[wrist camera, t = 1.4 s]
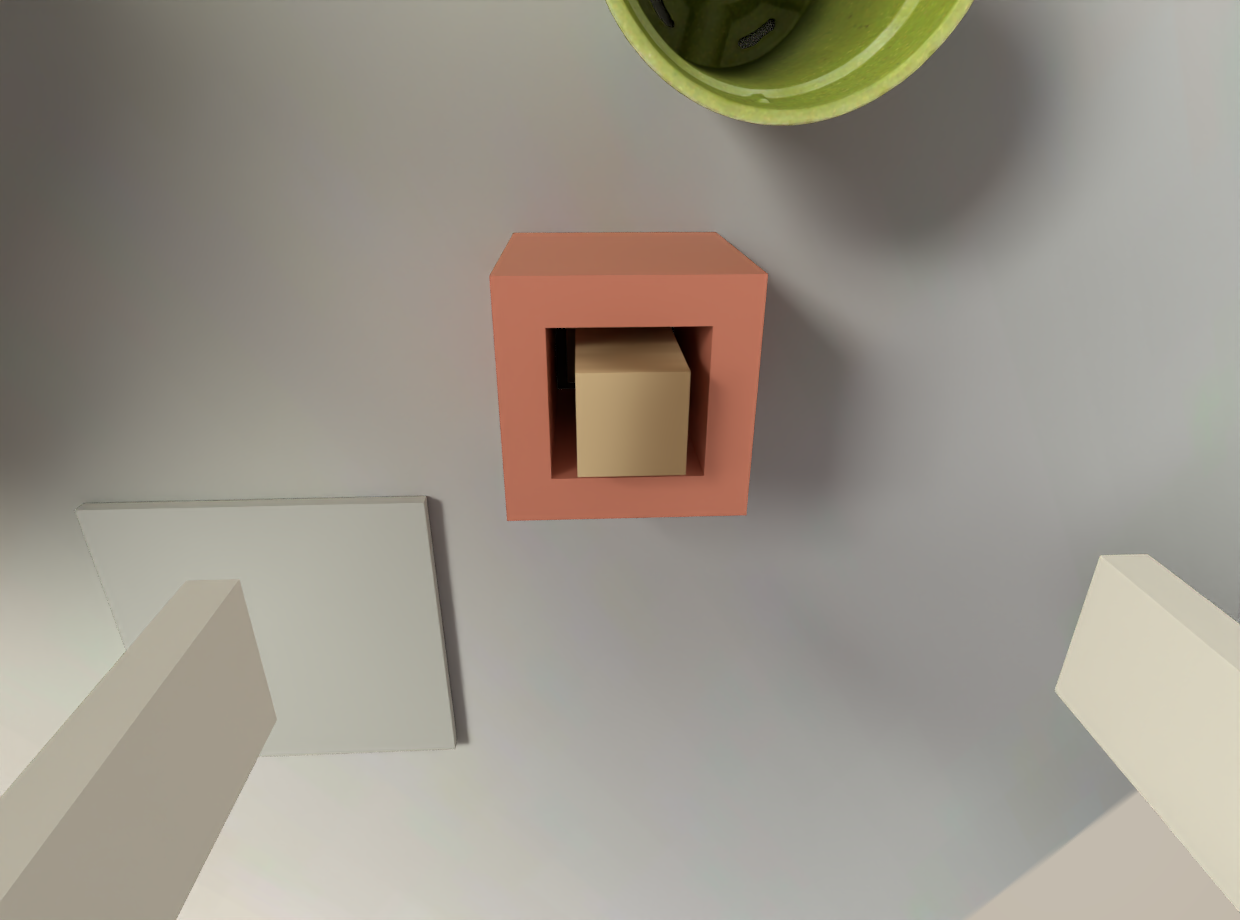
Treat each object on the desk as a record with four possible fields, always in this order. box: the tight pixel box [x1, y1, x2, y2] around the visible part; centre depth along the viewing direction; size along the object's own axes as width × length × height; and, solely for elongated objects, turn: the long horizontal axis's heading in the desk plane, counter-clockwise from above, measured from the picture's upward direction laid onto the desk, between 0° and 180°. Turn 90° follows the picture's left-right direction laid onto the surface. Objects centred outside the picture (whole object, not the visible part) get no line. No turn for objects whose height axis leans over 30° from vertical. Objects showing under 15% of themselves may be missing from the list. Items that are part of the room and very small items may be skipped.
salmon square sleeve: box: [489, 232, 768, 521], centre depth 24 cm, size 7×7×8 cm
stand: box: [566, 327, 691, 477], centre depth 24 cm, size 4×4×10 cm
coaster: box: [74, 496, 457, 757], centre depth 33 cm, size 14×14×1 cm
